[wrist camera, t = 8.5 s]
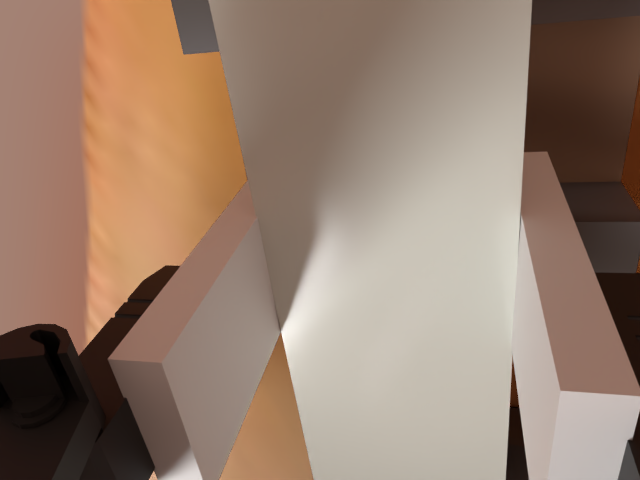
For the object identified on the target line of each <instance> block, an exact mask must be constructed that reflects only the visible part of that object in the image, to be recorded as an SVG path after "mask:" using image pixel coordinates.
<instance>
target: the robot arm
mask: <svg viewBox="0 0 640 480" xmlns="http://www.w3.org/2000/svg"><path fill="white" fill-rule="evenodd" d="M280 333H281V329H280V324H279V320H278V315H277V311H276V306H275V301H274V297H273V292H272V288H271V283H270V278H269V273H268V268H267V263H266V258H265V253H264V248H263V243H262V237H261V232H260V227H259V222H258V217H256V215H255V210H254V206H253V201H252V197H251V192H250V187H249V183H248V181H247V182H246V183H245V185H244V186H243V187H242V188H241V190H240V191H239V192H238V193H237V195H236V196H235V197H234V199H233V200H232V201H231V202H230V204H229V205H228V206H227V207H226V209H225V210H224V211H223V213H222V214H221V215H220V216H219V218H218V219H217V220H216V222H215V223H214V224H213V225H212V227H211V228H210V229H209V230H208V232H207V233H206V234H205V236H204V237H203V238H202V239H201V241H200V242H199V243H198V244H197V246H196V247H195V248H194V250H193V251H192V252H191V253H190V255H189V256H188V257H187V258H186V260H185V261H184V262H183V264H182V265H181V266H165V267H163V268H162V269H160V270H159V271H157V272H155V273H154V274H152V275H151V276H149V277H148V278H146V279H145V280H143V281H142V283H141V284H140V285H139V286H138V287H137V288H136V290H135V291H134V292H133V293H132V294H131V295H130V297H129V298H128V302H124V304H123V305H122V306H121V307H120V308H119V309H118V311H117V312H116V313H115V317H114V318H111V319H110V320H109V321H108V322H107V323H106V325H105V326H104V327H103V328H102V329H101V330H100V332H99V333H98V334H97V335H96V336H95V337H94V339H93V340H92V341H91V342H90V343H89V344H88V346H87V347H86V348H85V349H84V350H83V352H82V353H81V354H80V355H79V356H78V354H77V351H76V349H75V347H74V345H73V342H72V340H71V338H70V336H69V334H68V331H67V330H66V329H64V328H62V327H60V326H57V325H56V324H35V325H31V326H26V327H21V328H18V329H15V330H13V331H10V332H8V333H5V334H3V335H0V480H149V478H150V476H151V474H152V473H153V471H155V474H156V476H157V479H158V480H219V478H220V476H221V474H222V471H223V469H224V466H225V464H226V462H227V459H228V457H229V454H230V452H231V450H232V447H233V445H234V442H235V440H236V438H237V435H238V433H239V431H240V428H241V426H242V423H243V421H244V419H245V416H246V414H247V411H248V409H249V407H250V404H251V402H252V399H253V397H254V395H255V392H256V390H257V387H258V385H259V383H260V380H261V378H262V376H263V373H264V371H265V368H266V366H267V364H268V361H269V359H270V356H271V354H272V352H273V349H274V347H275V344H276V342H277V340H278V337H279V335H280ZM511 347H512V354H513V362H514V369H515V377H516V385H517V392H518V400H519V407H520V408H512V407H510V410H509V428H508V447H507V465H506V480H640V273H605V272H594V270H593V267H592V265H591V262H590V259H589V257H588V254H587V252H586V249H585V247H584V244H583V242H582V239H581V237H580V234H579V231H578V229H577V226H576V224H575V221H574V219H573V216H572V214H571V211H570V209H569V206H568V203H567V201H566V198H565V196H564V193H563V191H562V188H561V186H560V183H559V181H558V178H557V176H556V173H555V170H554V168H553V165H552V163H551V160H550V158H549V155H548V153H547V152H524V157H523V175H522V193H521V211H520V229H519V247H518V265H517V278H516V291H515V303H514V316H513V328H512V341H511Z"/></svg>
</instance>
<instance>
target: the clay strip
mask: <svg viewBox="0 0 640 480" xmlns="http://www.w3.org/2000/svg"><path fill="white" fill-rule="evenodd" d="M208 1H209V5H210V10H211V14H212V19H213V23H214V28H215V33H216V37H217V42H218V46H219V51H220V55H221V60H222V64H223V69H224V74H225V78H226V83H227V87H228V92H229V96H230V101H231V105H232V110H233V115H234V119H235V124H236V128H237V133H238V137H239V142H240V146H241V151H242V156H243V160H244V165H245V169H246V174H247V178H248V183H249V187H250V192H251V197H252V201H253V206H254V210H255V215H256V217H258V222H259V227H260V232H261V237H262V243H263V248H264V253H265V258H266V263H267V268H268V273H269V278H270V283H271V288H272V292H273V297H274V301H275V306H276V311H277V315H278V320H279V324H280V329H281V333H282V338H283V342H284V347H285V352H286V356H287V361H288V365H289V370H290V374H291V379H292V383H293V388H294V393H295V397H296V402H297V406H298V411H299V415H300V420H301V424H302V429H303V434H304V438H305V443H306V447H307V452H308V456H309V461H310V465H311V470H312V475H313V479H314V480H506V465H507V447H508V428H509V410H510V392H511V374H512V356H513V354H512V347H511V341H512V328H513V316H514V303H515V291H516V278H517V265H518V247H519V229H520V211H521V193H522V175H523V157H524V138H525V120H526V102H527V84H528V66H529V48H530V30H531V12H532V0H208Z"/></svg>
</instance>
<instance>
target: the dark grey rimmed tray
mask: <svg viewBox="0 0 640 480" xmlns="http://www.w3.org/2000/svg"><path fill="white" fill-rule="evenodd" d="M171 2H172V7H173V11H174V15H175V19H176V24H177V28H178V32H179V37H180V41H181V45H182V49H183V54H195V53H207V52H219V46H218V42H217V37H216V33H215V28H214V23H213V19H212V14H211V10H210V5H209V1H208V0H171ZM639 76H640V0H532V12H531V30H530V48H529V66H528V84H527V102H526V120H525V138H524V152H547V153H548V155H549V158H550V160H551V163H552V165H553V168H554V170H555V173H556V176H557V178H558V181H559V183H560V186H561V188H562V191H563V193H564V196H565V198H566V201H567V203H568V206H569V209H570V211H571V214H572V216H573V219H574V221H575V224H576V226H577V229H578V231H579V234H580V237H581V239H582V242H583V244H584V247H585V249H586V252H587V254H588V257H589V259H590V262H591V265H592V267H593V270H594V272H605V273H636V270H637V266H638V261H639V256H640V211H639V209H638V207H637V206H636V204H635V203H634V201H633V200H632V198H631V196H630V195H629V193H628V192H627V190H626V189H625V187H624V186H623V184H622V182H621V178H622V173H623V167H624V161H625V155H626V150H627V144H628V138H629V133H630V127H631V121H632V116H633V110H634V104H635V99H636V93H637V87H638V82H639ZM245 170H246V169H245ZM246 175H247V174H246ZM247 180H248V178H247Z"/></svg>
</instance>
